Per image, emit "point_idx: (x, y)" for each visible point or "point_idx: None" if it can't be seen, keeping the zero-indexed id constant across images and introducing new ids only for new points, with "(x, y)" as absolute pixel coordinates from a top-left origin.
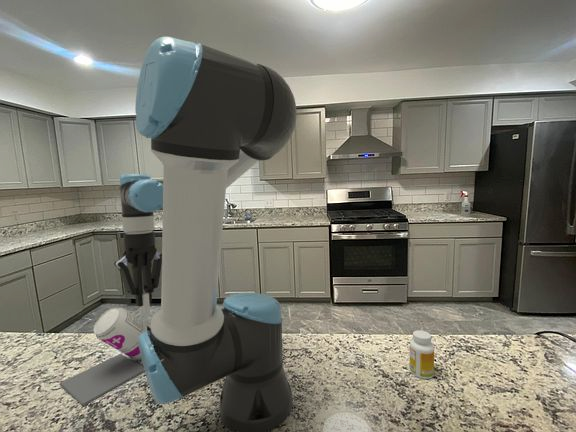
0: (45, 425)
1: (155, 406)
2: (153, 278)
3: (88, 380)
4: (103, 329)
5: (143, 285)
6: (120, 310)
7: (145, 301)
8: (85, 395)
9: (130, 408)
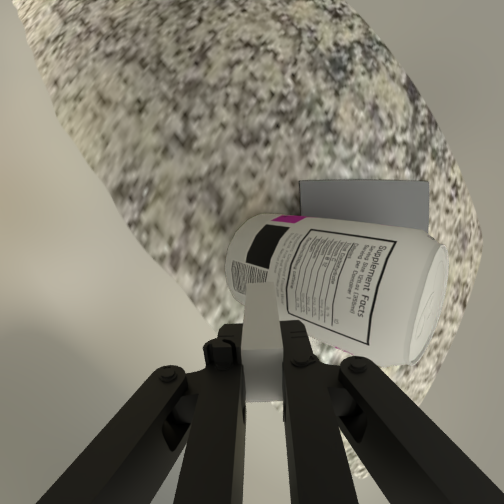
0: (464, 189)
1: (343, 52)
2: (162, 439)
3: None
4: (441, 272)
5: (244, 431)
6: (411, 304)
7: (268, 322)
8: (418, 205)
9: (377, 89)
